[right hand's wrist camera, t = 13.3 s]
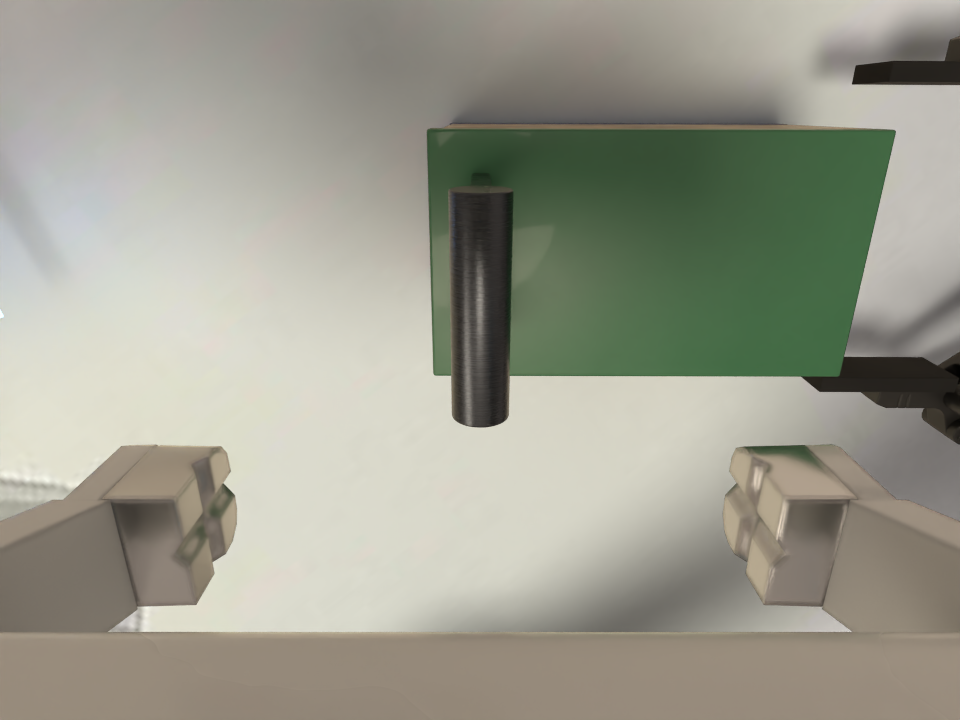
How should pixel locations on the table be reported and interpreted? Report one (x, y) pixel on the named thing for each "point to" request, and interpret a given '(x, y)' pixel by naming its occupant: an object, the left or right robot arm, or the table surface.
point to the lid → (644, 253)
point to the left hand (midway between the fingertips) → (835, 236)
